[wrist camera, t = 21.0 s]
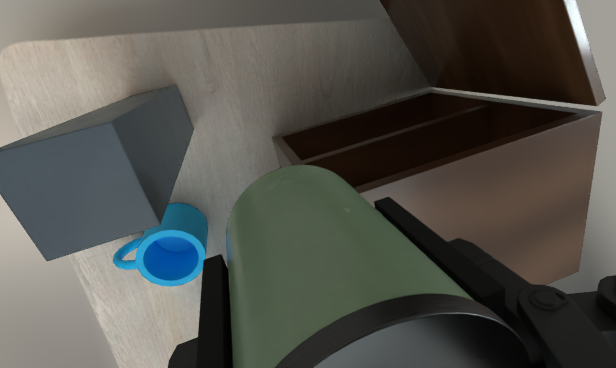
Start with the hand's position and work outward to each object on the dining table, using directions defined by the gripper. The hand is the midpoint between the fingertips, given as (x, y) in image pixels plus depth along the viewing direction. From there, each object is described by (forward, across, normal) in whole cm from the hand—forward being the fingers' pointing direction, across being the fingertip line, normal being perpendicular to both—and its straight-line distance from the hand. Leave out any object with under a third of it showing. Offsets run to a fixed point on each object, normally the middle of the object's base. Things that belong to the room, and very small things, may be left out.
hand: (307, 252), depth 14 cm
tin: (+2, 0, 0) cm, 2 cm away
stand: (+33, -10, +4) cm, 35 cm away
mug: (+34, -16, -12) cm, 39 cm away
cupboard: (+33, +16, -12) cm, 39 cm away
